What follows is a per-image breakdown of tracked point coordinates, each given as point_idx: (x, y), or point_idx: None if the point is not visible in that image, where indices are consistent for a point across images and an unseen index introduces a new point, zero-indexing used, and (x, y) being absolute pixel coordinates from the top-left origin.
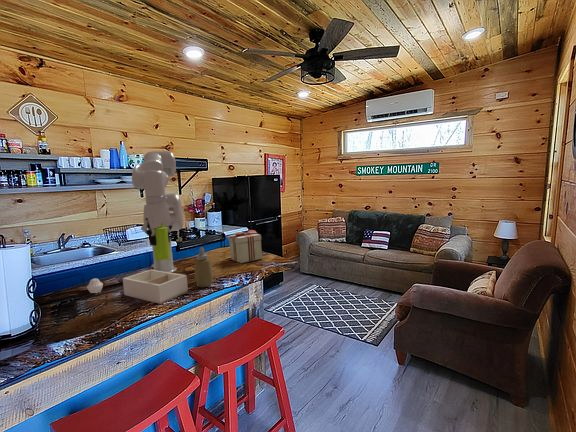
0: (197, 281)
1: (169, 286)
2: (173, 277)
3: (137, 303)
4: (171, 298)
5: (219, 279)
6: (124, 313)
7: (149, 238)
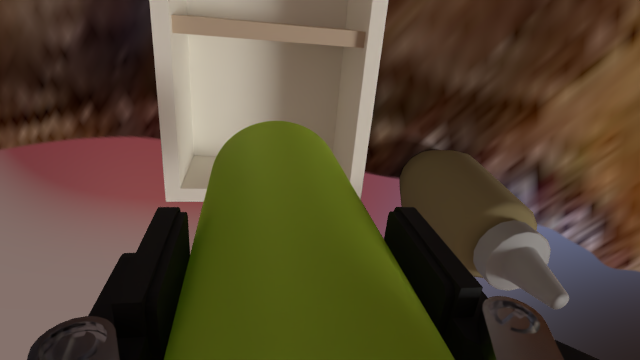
0: (402, 187)
1: None
2: (354, 100)
3: (127, 43)
4: None
5: (509, 182)
6: (18, 94)
7: (98, 306)
